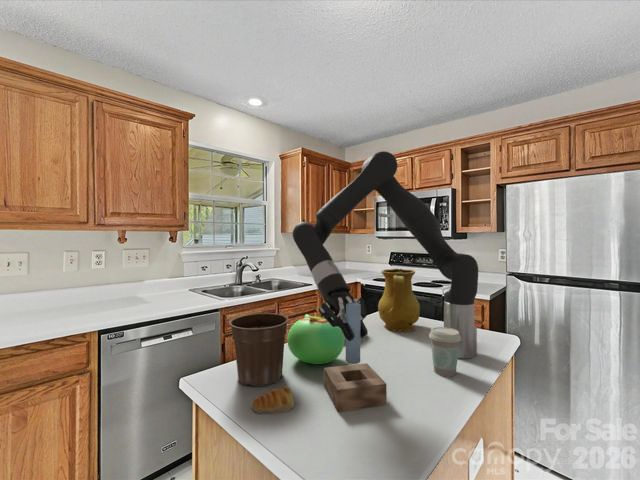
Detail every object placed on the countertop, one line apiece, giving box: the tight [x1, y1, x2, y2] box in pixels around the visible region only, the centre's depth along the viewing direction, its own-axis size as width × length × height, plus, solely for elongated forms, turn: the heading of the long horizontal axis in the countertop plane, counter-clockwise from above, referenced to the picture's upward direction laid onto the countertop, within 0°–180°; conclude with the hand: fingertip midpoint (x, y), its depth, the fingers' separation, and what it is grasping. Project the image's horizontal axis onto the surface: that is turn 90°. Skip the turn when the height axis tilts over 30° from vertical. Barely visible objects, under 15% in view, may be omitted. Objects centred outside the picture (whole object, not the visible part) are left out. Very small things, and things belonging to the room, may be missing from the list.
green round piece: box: [286, 313, 346, 365], centre depth 100 cm, size 18×17×15 cm
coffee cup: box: [428, 326, 461, 377], centre depth 91 cm, size 8×8×12 cm
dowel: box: [345, 303, 361, 365], centre depth 78 cm, size 4×4×14 cm
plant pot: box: [228, 312, 289, 387], centre depth 89 cm, size 16×16×16 cm
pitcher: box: [377, 268, 421, 333], centre depth 134 cm, size 17×19×25 cm
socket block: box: [323, 362, 388, 413], centre depth 78 cm, size 12×12×5 cm
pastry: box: [251, 386, 295, 414], centre depth 74 cm, size 9×7×4 cm
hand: (358, 337), depth 77 cm, fingers closed on dowel, 3 cm apart
